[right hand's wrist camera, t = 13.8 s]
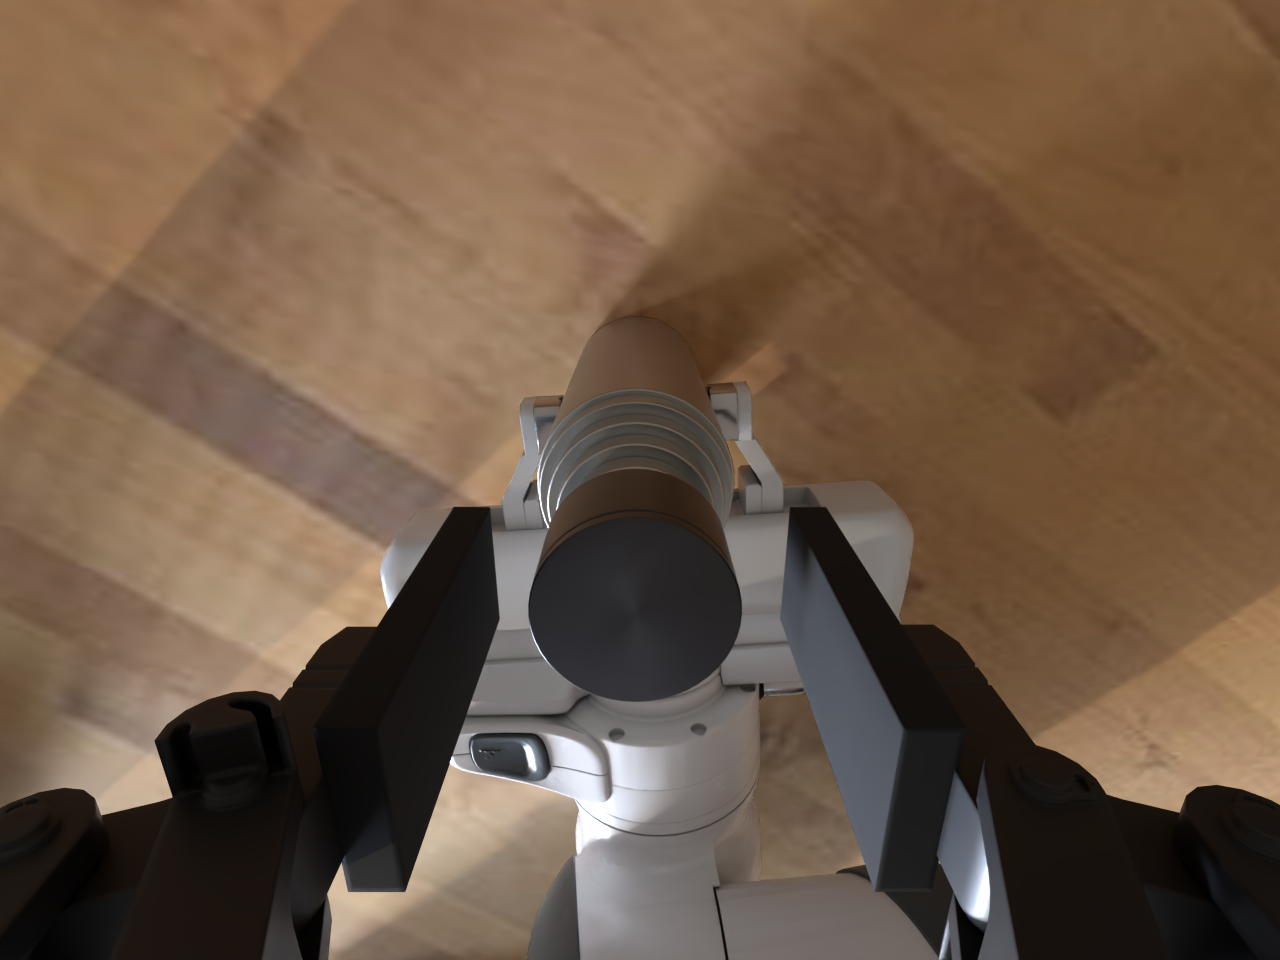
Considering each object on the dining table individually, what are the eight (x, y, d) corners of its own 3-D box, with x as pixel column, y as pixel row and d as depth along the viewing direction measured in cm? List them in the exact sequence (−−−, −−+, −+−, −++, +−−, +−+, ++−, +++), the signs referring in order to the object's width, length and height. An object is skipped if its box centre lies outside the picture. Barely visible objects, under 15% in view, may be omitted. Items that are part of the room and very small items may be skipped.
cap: (529, 608, 15) (510, 679, 13) (565, 448, 14) (551, 495, 12) (697, 644, 16) (708, 719, 13) (748, 491, 14) (771, 545, 12)
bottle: (566, 417, 32) (471, 688, 14) (592, 302, 30) (520, 440, 12) (678, 444, 32) (729, 740, 14) (710, 333, 30) (817, 509, 12)
